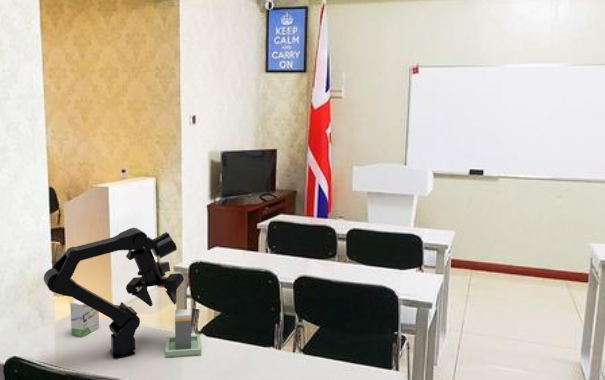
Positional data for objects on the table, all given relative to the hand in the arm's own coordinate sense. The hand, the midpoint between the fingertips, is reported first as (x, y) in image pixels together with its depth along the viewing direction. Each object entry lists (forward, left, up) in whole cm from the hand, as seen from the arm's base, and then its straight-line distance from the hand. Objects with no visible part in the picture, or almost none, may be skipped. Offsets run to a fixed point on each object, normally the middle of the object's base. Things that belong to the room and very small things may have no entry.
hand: (163, 304), depth 169 cm
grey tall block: (+4, -8, -13) cm, 15 cm away
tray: (+4, -8, -13) cm, 16 cm away
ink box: (-22, +20, -13) cm, 33 cm away
